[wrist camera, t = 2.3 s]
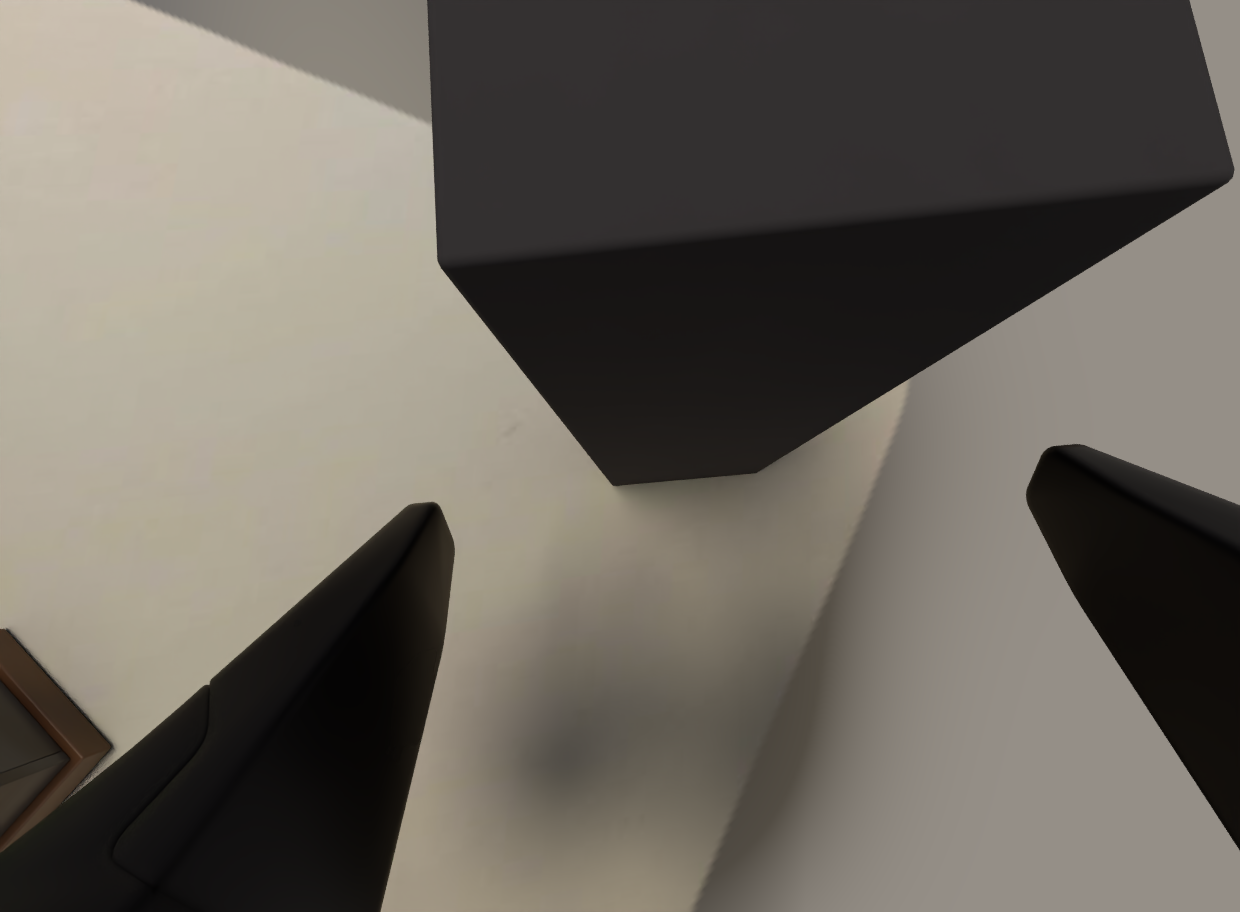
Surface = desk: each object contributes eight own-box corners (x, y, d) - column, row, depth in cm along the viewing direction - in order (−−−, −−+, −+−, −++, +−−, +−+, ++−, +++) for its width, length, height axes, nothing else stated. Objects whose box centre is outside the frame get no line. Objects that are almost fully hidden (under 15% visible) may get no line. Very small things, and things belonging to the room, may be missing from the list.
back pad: (757, 473, 19) (1243, 177, 3) (611, 486, 19) (433, 266, 4) (747, 388, 20) (1137, -226, 4) (604, 401, 20) (419, -124, 4)
